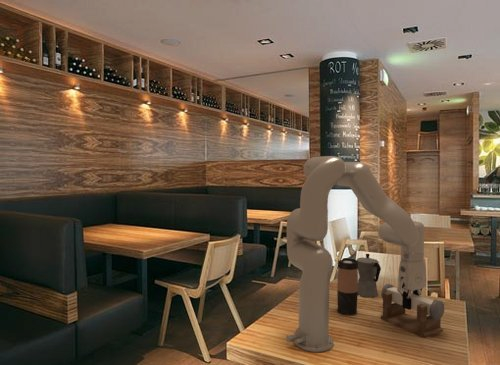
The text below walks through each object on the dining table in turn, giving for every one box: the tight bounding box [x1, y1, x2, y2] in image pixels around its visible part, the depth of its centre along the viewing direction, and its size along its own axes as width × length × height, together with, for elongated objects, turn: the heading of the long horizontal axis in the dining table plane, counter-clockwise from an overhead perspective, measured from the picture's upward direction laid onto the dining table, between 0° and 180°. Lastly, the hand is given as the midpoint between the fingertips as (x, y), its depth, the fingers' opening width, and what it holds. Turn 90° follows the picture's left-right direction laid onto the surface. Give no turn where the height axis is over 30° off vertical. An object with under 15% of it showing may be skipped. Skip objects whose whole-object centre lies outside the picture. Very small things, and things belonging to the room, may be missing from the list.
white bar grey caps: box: [381, 283, 445, 320], centre depth 134 cm, size 21×6×6 cm, turn 31°
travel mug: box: [336, 258, 359, 316], centre depth 145 cm, size 8×8×20 cm
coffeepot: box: [356, 253, 382, 298], centre depth 164 cm, size 15×9×18 cm, turn 17°
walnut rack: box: [380, 292, 444, 339], centre depth 134 cm, size 18×10×10 cm, turn 31°
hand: (411, 306), depth 134 cm, fingers closed on white bar grey caps, 4 cm apart
